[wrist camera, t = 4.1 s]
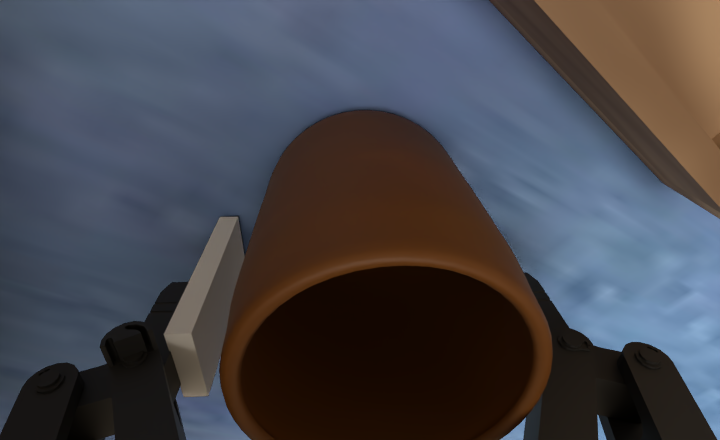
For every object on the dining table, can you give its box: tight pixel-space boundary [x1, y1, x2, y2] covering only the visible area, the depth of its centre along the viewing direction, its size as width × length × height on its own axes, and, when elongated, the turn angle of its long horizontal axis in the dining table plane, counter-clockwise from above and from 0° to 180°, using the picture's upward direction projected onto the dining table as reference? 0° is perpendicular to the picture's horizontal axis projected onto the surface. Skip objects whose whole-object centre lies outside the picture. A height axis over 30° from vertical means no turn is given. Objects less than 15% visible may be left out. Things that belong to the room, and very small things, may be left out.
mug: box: [219, 110, 553, 440], centre depth 14 cm, size 12×8×9 cm, turn 163°
